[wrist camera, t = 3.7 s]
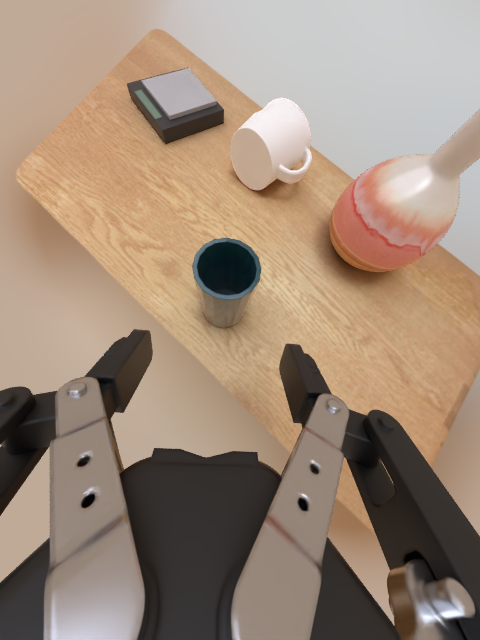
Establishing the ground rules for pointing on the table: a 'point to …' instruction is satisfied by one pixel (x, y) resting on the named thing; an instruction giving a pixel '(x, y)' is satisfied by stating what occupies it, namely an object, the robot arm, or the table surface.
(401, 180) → the vase
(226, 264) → the cup
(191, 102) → the scale
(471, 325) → the table surface
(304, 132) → the mug
